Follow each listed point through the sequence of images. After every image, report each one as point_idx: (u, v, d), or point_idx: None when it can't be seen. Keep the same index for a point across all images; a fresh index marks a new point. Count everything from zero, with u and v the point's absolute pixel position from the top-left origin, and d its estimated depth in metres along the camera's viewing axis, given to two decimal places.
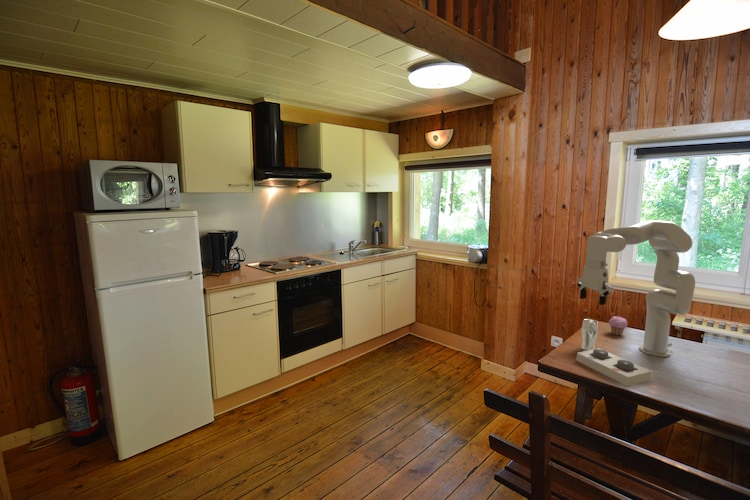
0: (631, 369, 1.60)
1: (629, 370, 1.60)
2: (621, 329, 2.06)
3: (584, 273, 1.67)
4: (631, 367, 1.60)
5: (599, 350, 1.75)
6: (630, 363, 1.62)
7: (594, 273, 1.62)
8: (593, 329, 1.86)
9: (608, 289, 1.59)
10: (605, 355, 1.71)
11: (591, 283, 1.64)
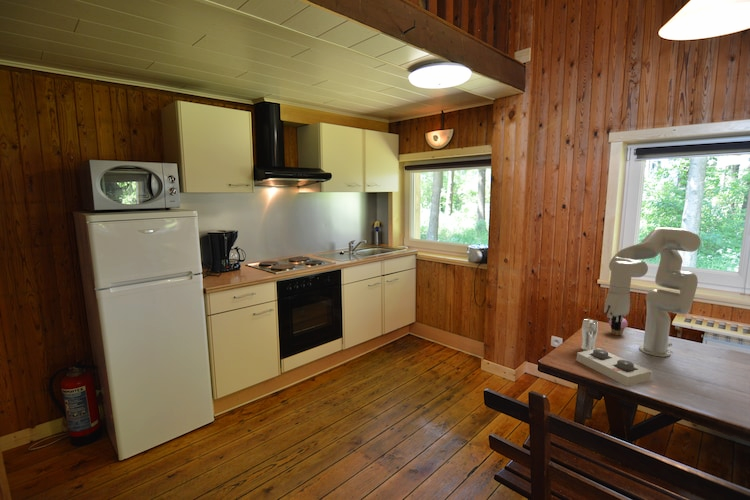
0: (631, 369, 1.60)
1: (629, 370, 1.60)
2: (621, 329, 2.06)
3: (617, 302, 1.61)
4: (631, 367, 1.60)
5: (599, 350, 1.75)
6: (630, 363, 1.62)
7: (627, 298, 1.62)
8: (593, 329, 1.86)
9: None
10: (605, 355, 1.71)
11: (623, 309, 1.63)
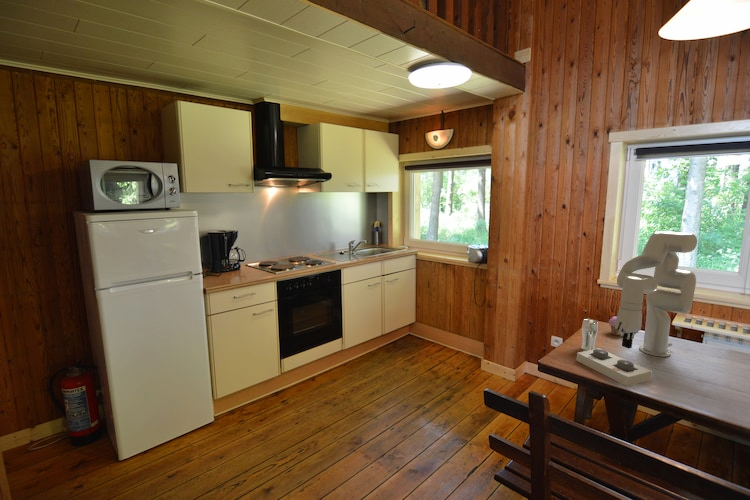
0: (631, 369, 1.60)
1: (629, 370, 1.60)
2: None
3: (629, 319, 1.56)
4: (631, 367, 1.60)
5: (599, 350, 1.75)
6: (630, 363, 1.62)
7: (639, 315, 1.57)
8: (593, 329, 1.86)
9: (636, 331, 1.61)
10: (605, 355, 1.71)
11: (635, 326, 1.58)
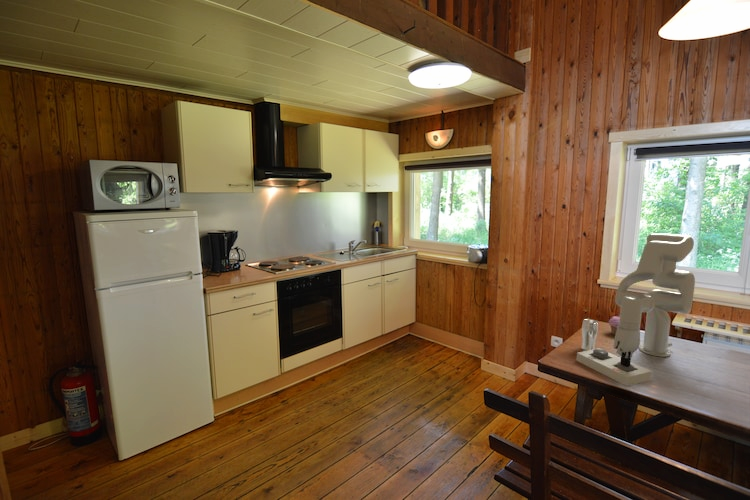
0: None
1: None
2: None
3: (627, 338, 1.57)
4: (631, 369, 1.60)
5: (599, 350, 1.75)
6: (630, 365, 1.62)
7: (637, 334, 1.59)
8: (593, 329, 1.86)
9: (634, 350, 1.62)
10: (605, 355, 1.71)
11: (633, 345, 1.59)
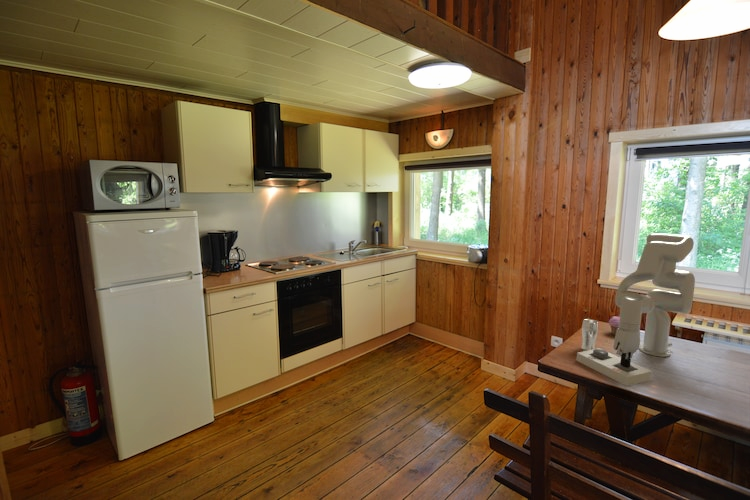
0: None
1: None
2: None
3: (627, 339, 1.58)
4: (631, 370, 1.60)
5: (599, 350, 1.75)
6: (630, 366, 1.62)
7: (637, 335, 1.59)
8: (593, 329, 1.86)
9: (634, 350, 1.63)
10: (605, 355, 1.71)
11: (633, 346, 1.59)
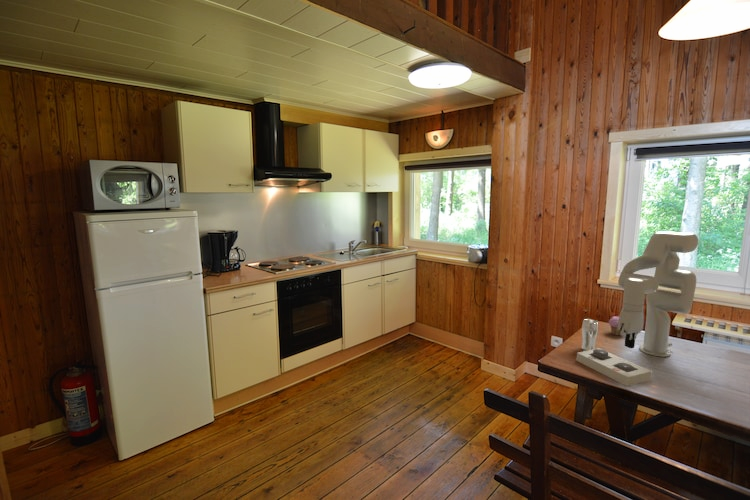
0: None
1: None
2: None
3: (631, 320, 1.58)
4: (631, 370, 1.60)
5: (599, 350, 1.75)
6: (630, 366, 1.62)
7: (640, 316, 1.59)
8: (593, 329, 1.86)
9: (638, 331, 1.63)
10: (605, 355, 1.71)
11: (637, 327, 1.60)
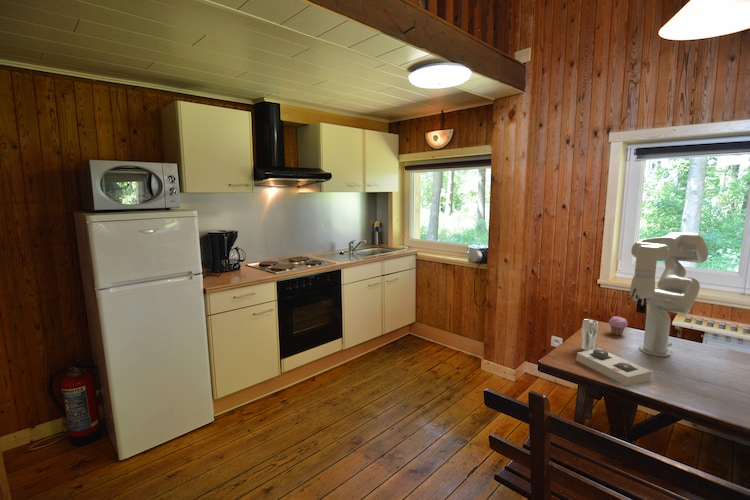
0: None
1: None
2: (621, 329, 2.06)
3: (643, 285, 1.65)
4: (631, 370, 1.60)
5: (599, 350, 1.75)
6: (630, 366, 1.62)
7: (652, 282, 1.66)
8: (593, 329, 1.86)
9: None
10: (605, 355, 1.71)
11: (649, 292, 1.67)
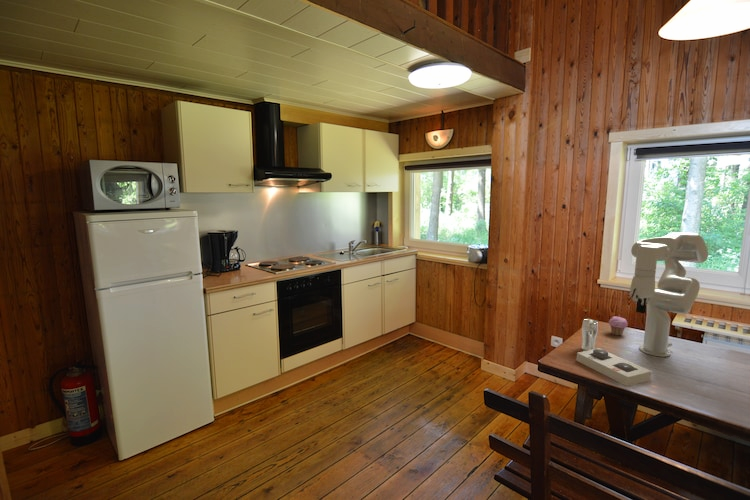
0: None
1: None
2: (621, 329, 2.06)
3: (643, 285, 1.65)
4: (631, 370, 1.60)
5: (599, 350, 1.75)
6: (630, 366, 1.62)
7: (652, 282, 1.66)
8: (593, 329, 1.86)
9: (649, 297, 1.70)
10: (605, 355, 1.71)
11: (649, 292, 1.67)
